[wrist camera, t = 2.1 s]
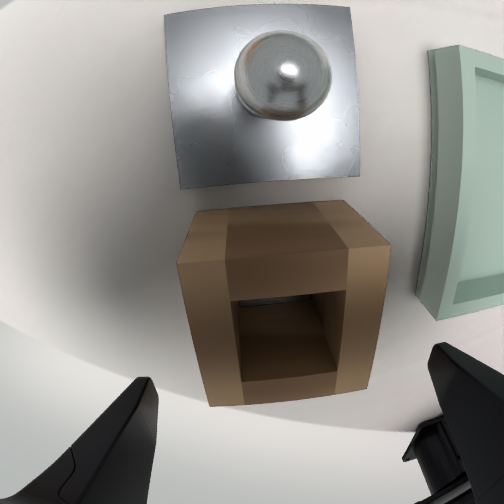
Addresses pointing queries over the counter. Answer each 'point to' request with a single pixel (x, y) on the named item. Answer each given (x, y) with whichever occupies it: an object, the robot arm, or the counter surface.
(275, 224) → the walnut block
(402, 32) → the counter surface
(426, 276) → the sage tray
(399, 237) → the counter surface
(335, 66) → the stand
